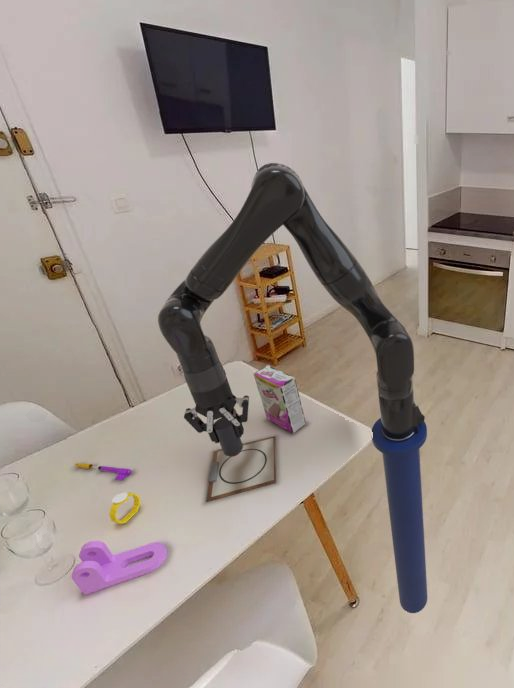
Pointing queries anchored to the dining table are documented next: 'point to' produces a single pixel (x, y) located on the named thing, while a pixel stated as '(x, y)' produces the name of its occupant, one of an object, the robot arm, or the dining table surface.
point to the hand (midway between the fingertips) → (229, 437)
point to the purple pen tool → (121, 471)
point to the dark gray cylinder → (227, 437)
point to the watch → (120, 500)
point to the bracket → (114, 565)
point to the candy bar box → (280, 398)
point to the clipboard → (242, 469)
